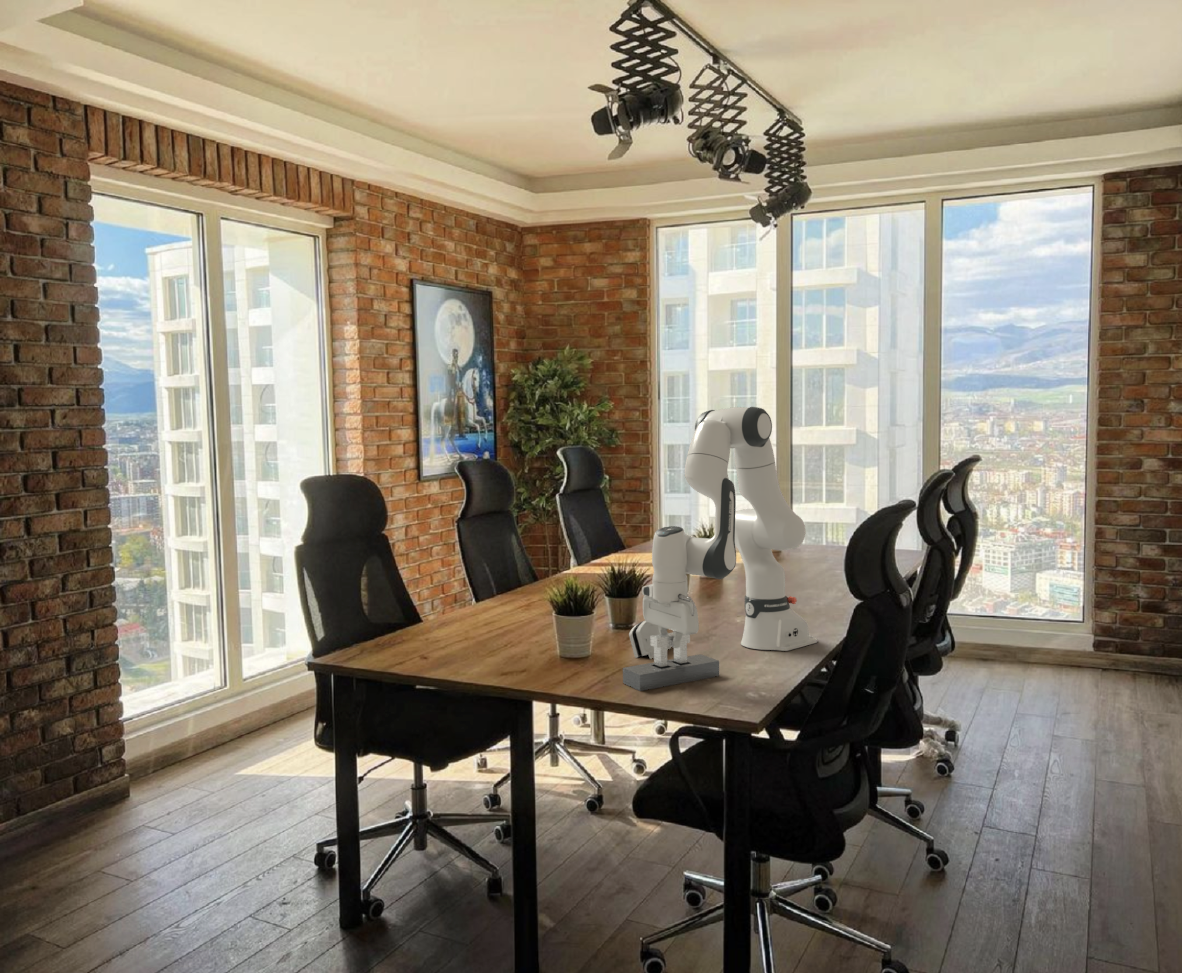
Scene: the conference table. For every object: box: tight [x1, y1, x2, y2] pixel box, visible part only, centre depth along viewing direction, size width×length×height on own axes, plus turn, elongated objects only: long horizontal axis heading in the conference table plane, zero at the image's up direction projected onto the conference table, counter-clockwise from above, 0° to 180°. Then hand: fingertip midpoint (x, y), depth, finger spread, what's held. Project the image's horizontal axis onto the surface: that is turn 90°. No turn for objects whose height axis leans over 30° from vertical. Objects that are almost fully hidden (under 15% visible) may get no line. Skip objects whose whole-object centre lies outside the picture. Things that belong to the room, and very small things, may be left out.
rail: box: [622, 654, 720, 692], centre depth 248 cm, size 24×8×4 cm, turn 119°
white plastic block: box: [628, 620, 673, 660], centre depth 277 cm, size 17×5×10 cm, turn 152°
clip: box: [650, 631, 691, 667], centre depth 247 cm, size 10×3×8 cm, turn 119°
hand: (670, 645), depth 247 cm, fingers closed on clip, 3 cm apart
